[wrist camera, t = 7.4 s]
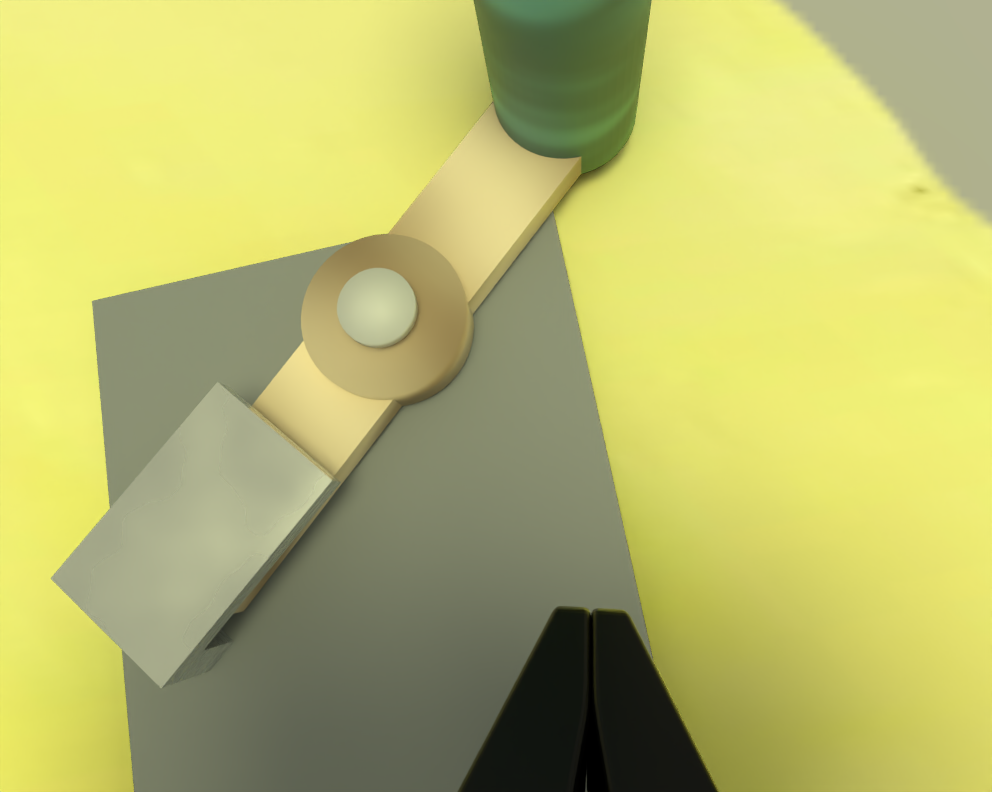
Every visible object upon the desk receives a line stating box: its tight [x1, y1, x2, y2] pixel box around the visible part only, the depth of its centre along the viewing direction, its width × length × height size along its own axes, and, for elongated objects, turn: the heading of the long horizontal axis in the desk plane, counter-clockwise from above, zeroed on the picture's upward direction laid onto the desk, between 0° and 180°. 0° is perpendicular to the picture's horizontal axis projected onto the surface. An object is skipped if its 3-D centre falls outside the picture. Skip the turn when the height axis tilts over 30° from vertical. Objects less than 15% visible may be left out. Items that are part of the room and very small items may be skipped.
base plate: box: [92, 211, 653, 792], centre depth 19 cm, size 18×14×3 cm
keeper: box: [51, 382, 341, 688], centre depth 20 cm, size 6×4×2 cm, turn 141°
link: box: [234, 0, 651, 613], centre depth 15 cm, size 18×4×13 cm, turn 142°
